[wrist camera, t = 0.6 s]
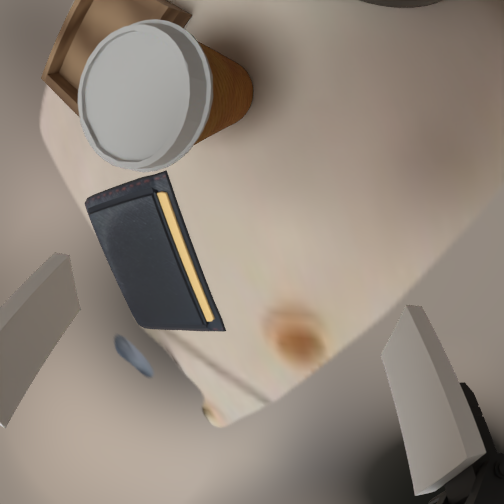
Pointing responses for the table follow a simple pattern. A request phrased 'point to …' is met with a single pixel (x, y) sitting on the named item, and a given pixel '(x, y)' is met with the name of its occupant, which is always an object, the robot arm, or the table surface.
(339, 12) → the table surface
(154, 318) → the wallet
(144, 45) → the disposable coffee cup
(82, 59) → the tray
